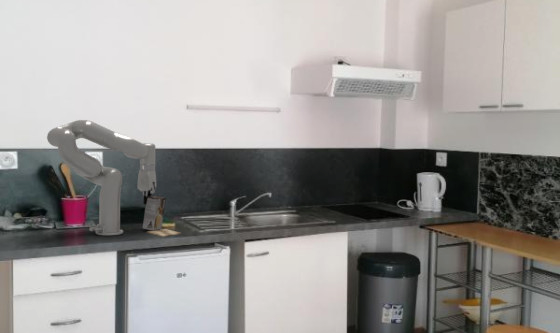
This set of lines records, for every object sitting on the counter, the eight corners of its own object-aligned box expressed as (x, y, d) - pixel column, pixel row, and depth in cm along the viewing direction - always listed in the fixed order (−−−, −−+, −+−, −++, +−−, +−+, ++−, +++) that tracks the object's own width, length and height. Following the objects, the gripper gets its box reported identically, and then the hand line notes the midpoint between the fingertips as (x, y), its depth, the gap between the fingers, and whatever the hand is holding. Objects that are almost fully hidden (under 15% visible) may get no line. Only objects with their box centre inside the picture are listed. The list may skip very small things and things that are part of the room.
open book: (162, 236, 251) (162, 235, 251) (146, 232, 259) (146, 231, 259) (181, 233, 259) (181, 232, 259) (165, 229, 268) (165, 228, 267)
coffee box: (150, 226, 271) (155, 195, 271) (161, 229, 269) (166, 198, 269) (141, 228, 262) (147, 196, 262) (153, 230, 260) (159, 198, 260)
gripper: (132, 167, 268) (132, 203, 270) (150, 169, 259) (149, 206, 260) (144, 166, 274) (144, 201, 275) (162, 168, 265) (162, 205, 266)
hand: (147, 204), depth 268 cm, fingers closed
